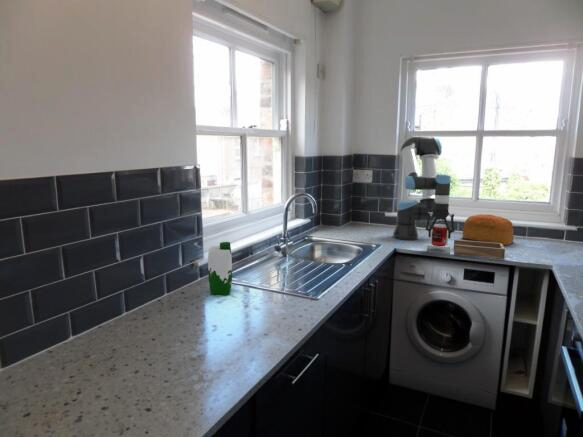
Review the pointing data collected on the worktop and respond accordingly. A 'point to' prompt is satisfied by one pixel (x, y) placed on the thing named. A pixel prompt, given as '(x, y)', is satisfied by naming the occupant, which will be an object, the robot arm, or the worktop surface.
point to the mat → (438, 249)
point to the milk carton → (220, 269)
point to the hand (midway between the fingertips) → (438, 243)
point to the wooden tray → (479, 249)
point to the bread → (488, 229)
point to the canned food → (439, 235)
